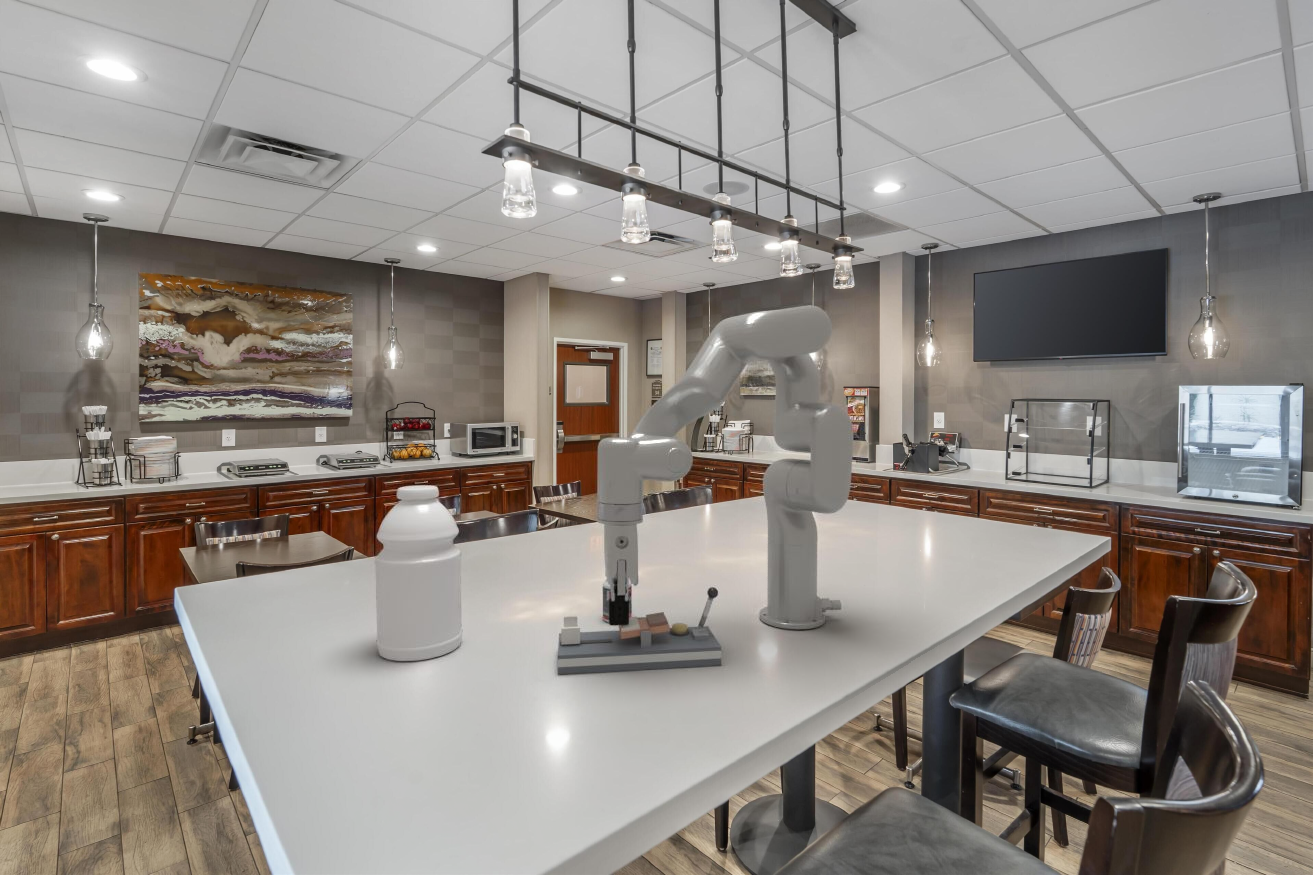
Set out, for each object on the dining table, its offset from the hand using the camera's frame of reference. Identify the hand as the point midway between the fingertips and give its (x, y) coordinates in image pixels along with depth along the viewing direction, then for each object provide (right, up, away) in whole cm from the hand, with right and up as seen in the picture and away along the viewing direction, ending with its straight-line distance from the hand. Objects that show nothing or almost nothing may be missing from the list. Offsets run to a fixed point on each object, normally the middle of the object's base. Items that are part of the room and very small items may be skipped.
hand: (618, 623), depth 103 cm
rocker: (+4, -1, +1) cm, 4 cm away
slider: (-8, -3, -1) cm, 8 cm away
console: (+3, -6, +1) cm, 7 cm away
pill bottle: (-2, -6, +20) cm, 21 cm away
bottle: (-35, -6, +6) cm, 36 cm away
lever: (+14, -2, +2) cm, 14 cm away
